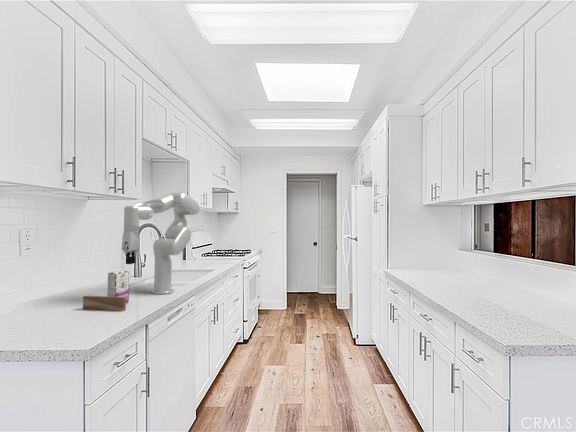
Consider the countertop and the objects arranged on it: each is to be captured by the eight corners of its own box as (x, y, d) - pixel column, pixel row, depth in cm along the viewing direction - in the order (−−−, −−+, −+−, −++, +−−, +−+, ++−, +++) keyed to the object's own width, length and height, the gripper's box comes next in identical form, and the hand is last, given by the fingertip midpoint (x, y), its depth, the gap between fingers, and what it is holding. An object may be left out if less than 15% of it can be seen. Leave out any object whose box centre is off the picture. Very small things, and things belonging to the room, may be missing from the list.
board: (85, 308, 193) (85, 295, 193) (125, 310, 191) (126, 297, 191) (82, 309, 191) (83, 296, 191) (123, 310, 189) (123, 297, 189)
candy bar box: (120, 301, 209) (121, 270, 209) (128, 302, 208) (129, 270, 208) (106, 306, 198) (107, 272, 198) (115, 306, 197) (116, 273, 198)
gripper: (131, 228, 224) (131, 262, 224) (116, 229, 208) (115, 265, 208) (145, 229, 223) (144, 262, 223) (130, 229, 207) (129, 265, 207)
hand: (130, 263), depth 215 cm, fingers open, 2 cm apart
